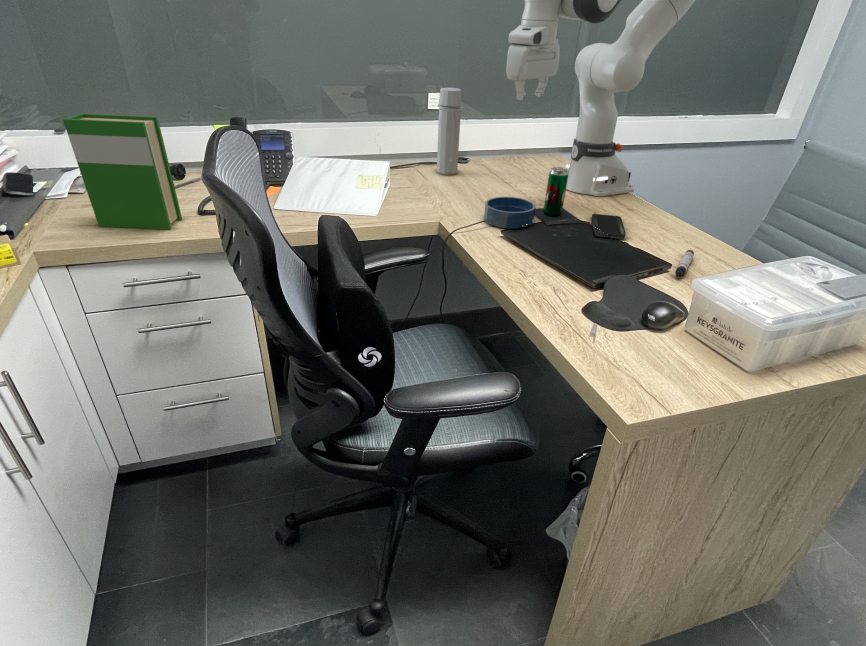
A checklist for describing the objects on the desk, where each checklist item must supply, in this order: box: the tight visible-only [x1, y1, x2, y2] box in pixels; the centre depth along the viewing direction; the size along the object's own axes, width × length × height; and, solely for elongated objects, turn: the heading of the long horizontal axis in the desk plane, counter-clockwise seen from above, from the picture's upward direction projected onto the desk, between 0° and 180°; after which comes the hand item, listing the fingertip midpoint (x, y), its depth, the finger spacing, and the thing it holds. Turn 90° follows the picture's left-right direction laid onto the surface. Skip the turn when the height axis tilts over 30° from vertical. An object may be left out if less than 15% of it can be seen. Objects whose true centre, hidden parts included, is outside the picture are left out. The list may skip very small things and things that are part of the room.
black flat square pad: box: [534, 207, 581, 224], centre depth 149 cm, size 10×12×1 cm
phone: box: [590, 213, 627, 240], centre depth 142 cm, size 8×1×15 cm
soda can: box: [543, 166, 569, 217], centre depth 145 cm, size 5×5×12 cm
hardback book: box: [62, 112, 183, 230], centre depth 129 cm, size 18×7×24 cm, turn 88°
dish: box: [483, 196, 537, 230], centre depth 144 cm, size 13×13×4 cm
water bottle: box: [436, 87, 464, 176], centre depth 174 cm, size 9×8×25 cm
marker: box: [674, 249, 695, 278], centre depth 122 cm, size 15×2×2 cm, turn 150°
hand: (530, 98), depth 139 cm, fingers open, 8 cm apart
